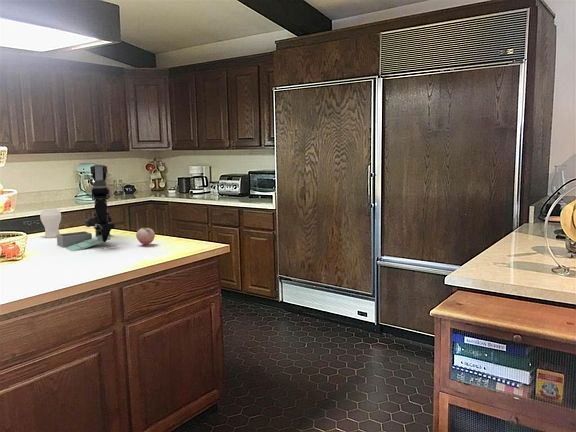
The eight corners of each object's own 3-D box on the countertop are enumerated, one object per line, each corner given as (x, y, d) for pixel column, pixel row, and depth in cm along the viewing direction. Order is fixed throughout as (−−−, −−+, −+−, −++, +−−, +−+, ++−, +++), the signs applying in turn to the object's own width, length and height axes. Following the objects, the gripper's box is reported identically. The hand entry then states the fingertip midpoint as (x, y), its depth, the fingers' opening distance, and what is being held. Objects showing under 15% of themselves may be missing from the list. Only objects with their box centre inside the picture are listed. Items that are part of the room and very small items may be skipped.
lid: (105, 237, 246) (103, 232, 245) (113, 240, 238) (111, 234, 237) (65, 250, 234) (64, 245, 233) (72, 254, 226) (70, 248, 225)
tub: (85, 242, 251) (85, 231, 250) (92, 245, 244) (91, 233, 243) (57, 246, 242) (56, 234, 241) (63, 249, 235) (62, 237, 234)
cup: (47, 238, 263) (45, 211, 261) (38, 237, 269) (36, 210, 267) (66, 236, 271) (64, 209, 269) (56, 234, 278) (54, 208, 276)
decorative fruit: (159, 244, 242) (158, 225, 241) (146, 247, 236) (145, 227, 234) (146, 243, 248) (145, 224, 246) (133, 245, 241) (132, 226, 239)
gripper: (78, 210, 240) (80, 241, 242) (91, 214, 226) (93, 246, 228) (100, 208, 247) (102, 238, 249) (114, 211, 233) (116, 243, 235)
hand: (103, 241), depth 240 cm, fingers closed on lid, 3 cm apart
